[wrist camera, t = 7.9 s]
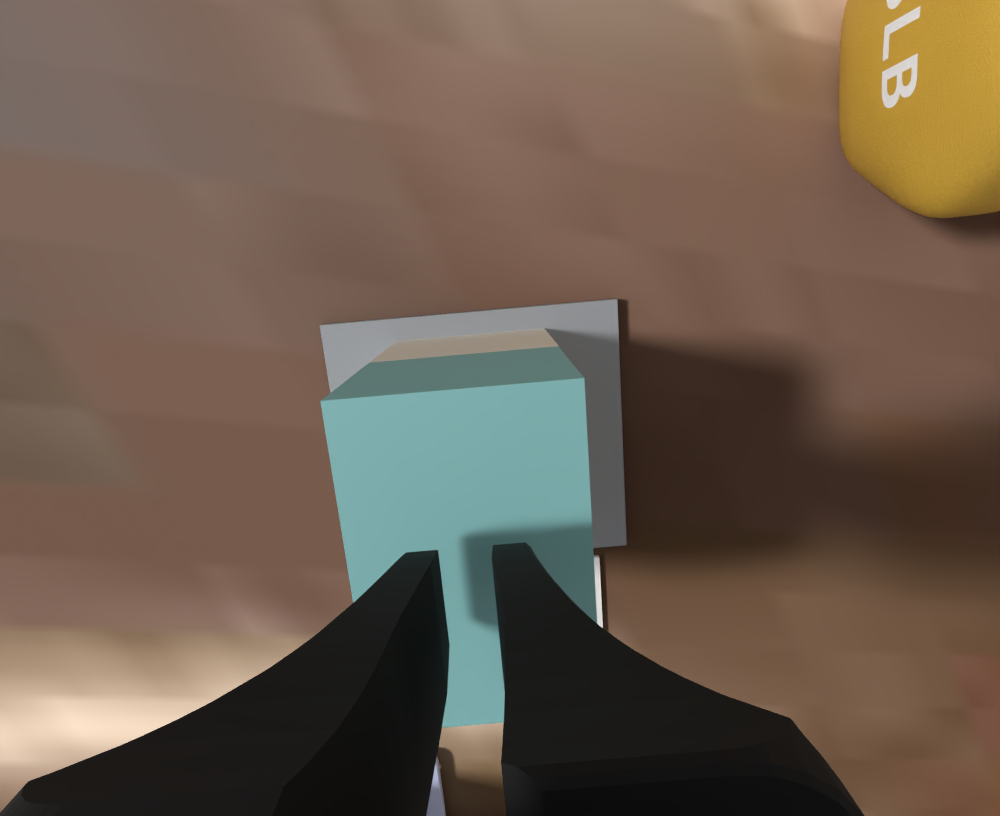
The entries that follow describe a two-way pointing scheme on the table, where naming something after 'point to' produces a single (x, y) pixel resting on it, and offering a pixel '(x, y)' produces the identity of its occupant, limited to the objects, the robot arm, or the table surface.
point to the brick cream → (467, 344)
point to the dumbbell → (923, 102)
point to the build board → (578, 333)
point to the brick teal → (465, 489)
